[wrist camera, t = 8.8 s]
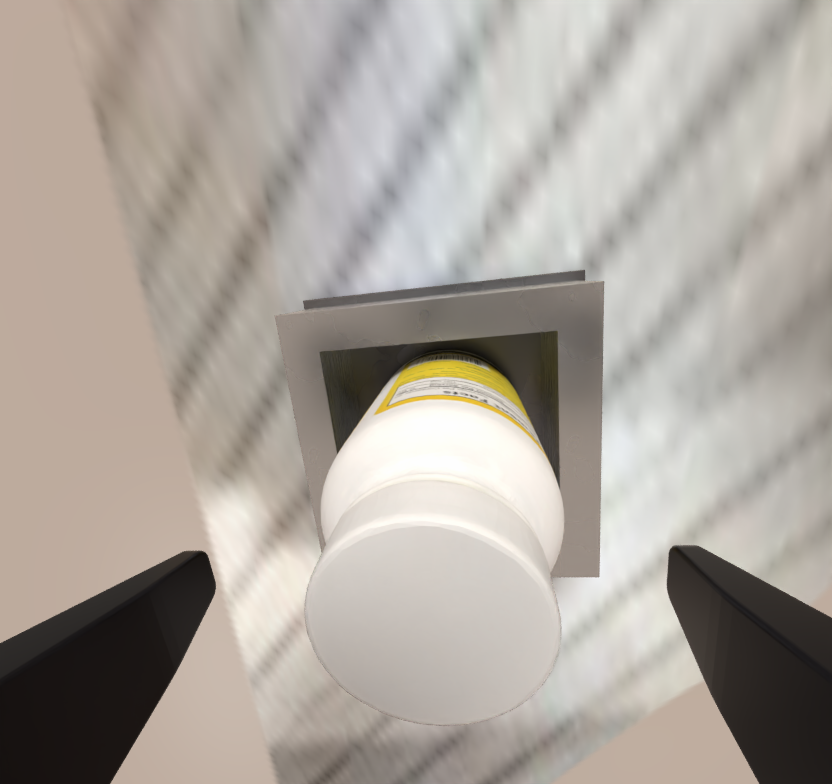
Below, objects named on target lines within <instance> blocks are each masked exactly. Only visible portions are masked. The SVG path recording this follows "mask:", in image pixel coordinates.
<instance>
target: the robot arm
mask: <svg viewBox="0 0 832 784" xmlns="http://www.w3.org/2000/svg"><path fill="white" fill-rule="evenodd" d="M215 589H216V582H215V579H214V575H213V572H212V568H211V565H210V561H209V558H208V555H207V554H206V553H205V552H203V551H184V552H182V553H180V554H178V555H176V556H174V557H172V558H170V559H168V560H166V561H164V562H162V563H160V564H158V565H156V566H154V567H152V568H150V569H148V570H146V571H144V572H142V573H140V574H138V575H136V576H134V577H132V578H130V579H128V580H126V581H124V582H122V583H120V584H118V585H116V586H114V587H112V588H110V589H108V590H106V591H104V592H102V593H100V594H98V595H96V596H94V597H92V598H90V599H88V600H86V601H84V602H82V603H80V604H78V605H76V606H74V607H72V608H70V609H68V610H66V611H64V612H62V613H60V614H58V615H56V616H54V617H52V618H50V619H48V620H46V621H44V622H42V623H40V624H38V625H36V626H34V627H32V628H30V629H28V630H26V631H24V632H22V633H20V634H18V635H16V636H14V637H12V638H10V639H8V640H6V641H4V642H2V643H0V784H110V783H111V781H112V780H113V778H114V776H115V775H116V773H117V771H118V770H119V768H120V766H121V764H122V763H123V761H124V760H125V758H126V756H127V755H128V753H129V751H130V749H131V748H132V746H133V744H134V743H135V741H136V739H137V738H138V736H139V734H140V732H141V731H142V729H143V728H144V726H145V724H146V723H147V721H148V719H149V718H150V716H151V714H152V712H153V711H154V709H155V707H156V706H157V704H158V702H159V701H160V699H161V697H162V696H163V694H164V692H165V691H166V689H167V687H168V685H169V684H170V682H171V680H172V678H173V677H174V675H175V673H176V671H177V669H178V667H179V666H180V664H181V662H182V660H183V658H184V656H185V653H186V652H187V650H188V647H189V646H190V643H191V641H192V639H193V637H194V635H195V633H196V631H197V629H198V627H199V625H200V623H201V621H202V619H203V617H204V615H205V613H206V611H207V609H208V607H209V605H210V603H211V601H212V599H213V596H214V594H215ZM667 591H668V595H669V598H670V601H671V603H672V606H673V608H674V610H675V613H676V615H677V617H678V620H679V622H680V624H681V627H682V629H683V631H684V634H685V636H686V638H687V641H688V643H689V645H690V648H691V650H692V652H693V654H694V657H695V659H696V661H697V664H698V666H699V668H700V671H701V673H702V675H703V678H704V680H705V682H706V684H707V686H708V688H709V691H710V693H711V695H712V697H713V699H714V701H715V703H716V705H717V707H718V709H719V711H720V712H721V714H722V716H723V718H724V720H725V721H726V723H727V725H728V727H729V729H730V731H731V732H732V734H733V736H734V738H735V740H736V742H737V744H738V745H739V747H740V749H741V751H742V753H743V755H744V756H745V758H746V760H747V762H748V764H749V766H750V767H751V769H752V771H753V773H754V775H755V777H756V778H757V780H758V782H759V784H832V618H831V617H829V616H827V615H826V614H824V613H822V612H820V611H818V610H816V609H814V608H813V607H811V606H809V605H807V604H805V603H803V602H802V601H800V600H798V599H796V598H794V597H792V596H790V595H789V594H787V593H785V592H783V591H781V590H779V589H777V588H776V587H774V586H772V585H770V584H768V583H766V582H764V581H763V580H761V579H759V578H757V577H755V576H753V575H752V574H750V573H748V572H746V571H744V570H742V569H740V568H739V567H737V566H735V565H733V564H731V563H729V562H727V561H726V560H724V559H722V558H720V557H718V556H716V555H714V554H713V553H711V552H709V551H707V550H705V549H703V548H701V547H699V546H696V545H675V546H673V547H672V548H671V549H670V551H669V559H668V574H667Z"/></svg>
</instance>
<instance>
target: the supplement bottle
mask: <svg viewBox="0 0 832 784" xmlns="http://www.w3.org/2000/svg"><path fill="white" fill-rule="evenodd" d="M321 525H322V530H323V535H324V539H325V542H326V546H325V548H324V550H323V552H322V554H321V556H320V558H319V560H318V562H317V564H316V567H315V569H314V571H313V573H312V575H311V578H310V581H309V584H308V587H307V592H306V599H305V621H306V627H307V633H308V636H309V639H310V642H311V644H312V647H313V649H314V651H315V653H316V655H317V657H318V659H319V660H320V662H321V663H322V665H323V666H324V668H325V669H326V671H327V672H328V673H329V674H330V675H331V676H332V677H333V679H334V680H335V681H336V682H337V683H338V684H339V685H340V686H341V687H342V688H343V689H345V690H346V691H347V692H348V693H349V694H351V695H352V696H354V697H355V698H357V699H358V700H360V701H361V702H363V703H365V704H366V705H368V706H370V707H372V708H374V709H376V710H378V711H380V712H382V713H384V714H387V715H390V716H393V717H396V718H398V719H401V720H405V721H409V722H414V723H419V724H427V725H439V726H450V725H464V724H472V723H478V722H482V721H486V720H489V719H492V718H494V717H497V716H499V715H502V714H504V713H506V712H509V711H511V710H513V709H515V708H516V707H518V706H520V705H521V704H523V703H524V702H525V701H526V700H528V699H529V698H530V697H532V696H533V694H534V693H535V692H536V691H537V690H538V689H539V688H540V687H541V686H542V685H543V683H544V682H545V680H546V679H547V677H548V676H549V674H550V673H551V671H552V669H553V667H554V664H555V662H556V659H557V657H558V654H559V648H560V643H561V617H560V613H559V608H558V604H557V600H556V596H555V591H554V587H553V583H552V579H551V575H550V573H551V571H552V569H553V567H554V565H555V563H556V561H557V558H558V556H559V553H560V550H561V546H562V541H563V534H564V508H563V501H562V496H561V492H560V489H559V486H558V483H557V480H556V477H555V474H554V472H553V469H552V467H551V464H550V462H549V460H548V458H547V456H546V454H545V452H544V450H543V447H542V445H541V443H540V441H539V439H538V437H537V434H536V432H535V430H534V428H533V426H532V424H531V421H530V419H529V417H528V415H527V413H526V411H525V408H524V406H523V404H522V402H521V400H520V398H519V396H518V394H517V392H516V390H515V388H514V386H513V385H512V383H511V382H510V381H509V379H508V378H507V377H506V376H505V375H504V374H503V372H502V371H500V370H499V369H498V368H497V367H496V366H495V365H493V364H492V363H491V362H489V361H487V360H486V359H484V358H482V357H480V356H478V355H475V354H472V353H469V352H465V351H459V350H439V351H433V352H428V353H425V354H423V355H420V356H418V357H416V358H414V359H412V360H411V361H409V362H407V363H406V364H405V365H403V366H402V367H401V368H400V369H399V370H398V371H397V372H396V373H395V374H394V375H393V376H392V377H391V379H390V380H389V381H388V382H387V384H386V385H385V386H384V387H383V389H382V391H381V392H380V394H379V395H378V396H377V398H376V399H375V401H374V402H373V403H372V405H371V406H370V408H369V409H368V410H367V412H366V413H365V415H364V416H363V417H362V419H361V420H360V422H359V423H358V425H357V426H356V428H355V429H354V430H353V432H352V433H351V435H350V436H349V438H348V439H347V440H346V442H345V443H344V445H343V446H342V448H341V449H340V451H339V453H338V454H337V456H336V458H335V460H334V461H333V463H332V466H331V468H330V470H329V472H328V474H327V477H326V480H325V483H324V487H323V492H322V497H321Z"/></svg>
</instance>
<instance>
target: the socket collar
mask: <svg viewBox="0 0 832 784" xmlns="http://www.w3.org/2000/svg"><path fill="white" fill-rule="evenodd" d="M303 303H304V309H305V310H301V311H296V312H292V313H287V314H282V315H277V316H275V319H276V325H277V330H278V335H279V340H280V345H281V350H282V355H283V360H284V365H285V370H286V375H287V380H288V385H289V390H290V395H291V400H292V405H293V410H294V415H295V420H296V425H297V430H298V436H299V441H300V446H301V451H302V456H303V461H304V466H305V471H306V476H307V481H308V486H309V491H310V496H311V501H312V506H313V511H314V516H315V521H316V526H317V531H318V536H319V541H320V546H321V552H323V550H324V548H325V546H326V542H325V539H324V535H323V530H322V525H321V497H322V492H323V487H324V483H325V480H326V477H327V474H328V472H329V470H330V468H331V466H332V463H333V461H334V460H335V458H336V456H337V454H338V453H339V451H340V449H341V448H342V446H343V445H344V443H345V442H346V440H347V439H348V438H349V436H350V435H351V433H352V432H353V430H354V429H355V428H356V426H357V425H358V423H359V422H360V420H361V419H362V417H363V416H364V415H365V413H366V412H367V410H368V409H369V408H370V406H371V405H372V403H373V402H374V401H375V399H376V398H377V396H378V395H379V394H380V392H381V391H382V389H383V387H384V386H385V385H386V384H387V382H388V381H389V380H390V379H391V377H392V376H393V375H394V374H395V373H396V372H397V371H398V370H399V369H400V368H401V367H402V366H403V365H405V364H406V363H407V362H409V361H411V360H412V359H414V358H416V357H418V356H420V355H423V354H425V353H428V352H433V351H439V350H459V351H465V352H469V353H472V354H475V355H478V356H480V357H482V358H484V359H486V360H487V361H489V362H491V363H492V364H493V365H495V366H496V367H497V368H498V369H499V370H500V371H502V372H503V374H504V375H505V376H506V377H507V378H508V379H509V381H510V382H511V383H512V385H513V386H514V388H515V390H516V392H517V394H518V396H519V398H520V400H521V402H522V404H523V406H524V408H525V411H526V413H527V415H528V417H529V419H530V421H531V424H532V426H533V428H534V430H535V432H536V434H537V437H538V439H539V441H540V443H541V445H542V447H543V450H544V452H545V454H546V456H547V458H548V460H549V462H550V464H551V467H552V469H553V472H554V474H555V477H556V480H557V483H558V486H559V489H560V492H561V496H562V501H563V508H564V534H563V541H562V546H561V550H560V553H559V556H558V558H557V561H556V563H555V565H554V567H553V569H552V571H551V573H550V575H551V577H599V566H600V503H601V440H602V377H603V314H604V281H585V270H579V271H569V272H560V273H551V274H542V275H533V276H524V277H515V278H506V279H496V280H487V281H478V282H469V283H460V284H451V285H442V286H433V287H423V288H414V289H405V290H396V291H387V292H378V293H369V294H359V295H350V296H341V297H332V298H323V299H314V300H306V301H303Z"/></svg>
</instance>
